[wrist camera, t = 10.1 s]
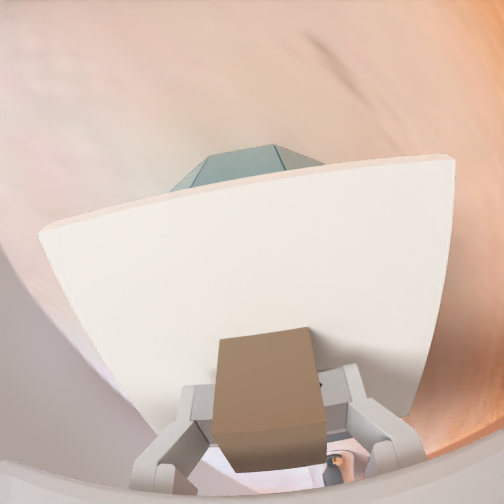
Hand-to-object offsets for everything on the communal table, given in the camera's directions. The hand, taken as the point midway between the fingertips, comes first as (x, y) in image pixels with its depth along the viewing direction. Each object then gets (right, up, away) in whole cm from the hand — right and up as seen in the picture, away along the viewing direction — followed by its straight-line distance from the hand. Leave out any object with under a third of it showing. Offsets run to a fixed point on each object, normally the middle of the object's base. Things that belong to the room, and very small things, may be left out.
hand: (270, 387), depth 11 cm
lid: (0, +1, +2) cm, 2 cm away
